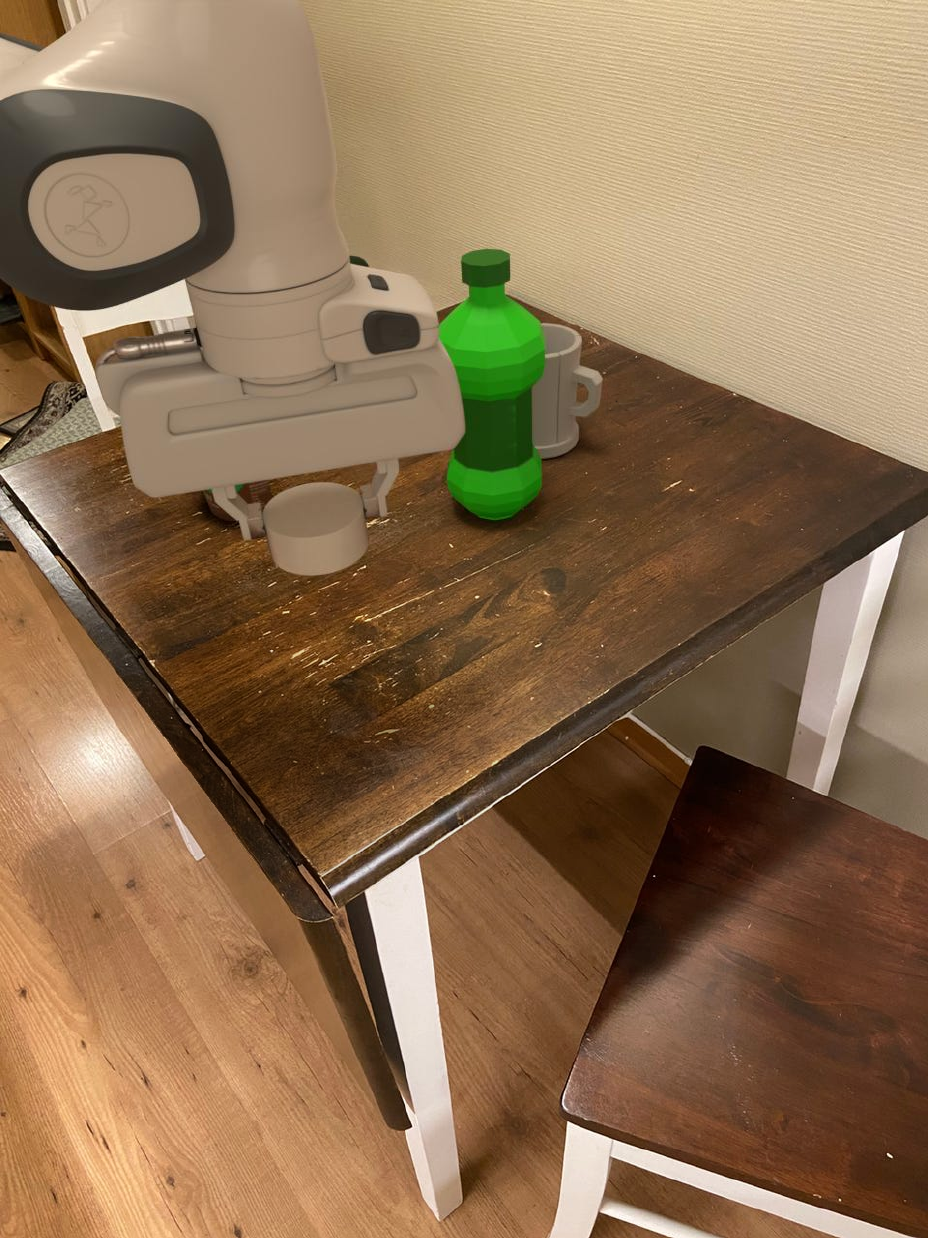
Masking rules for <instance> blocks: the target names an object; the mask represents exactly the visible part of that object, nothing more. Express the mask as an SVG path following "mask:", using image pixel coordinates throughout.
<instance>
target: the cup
mask: <svg viewBox="0 0 928 1238" xmlns="http://www.w3.org/2000/svg"><path fill="white" fill-rule="evenodd" d="M540 323H541V322H540ZM541 325H542V328H543V331H544V333H545V366H544V371H543V375H542V377H541V378H540V379H539V380H538V381H537V382H536V383H535V384H534V385H533V386H532V443H533V445H534V446H535V448H536V449H537V451H538V453H539V455H540V457H541V460H545V459H546V460H547V459H551V458H557V457H559V456H563V455H565V454H566V453H568V452H569V451H571V450H572V449H574V448H575V447H576V445H577V444H578V442H579V440H580V429H579V424H578V422H577V421H576V417H580V418H581V417H582V418H587V417H589V416H590V415H591V414H592V413H593V412H595V411H596V410H598V409H599V407H600V405H601V396H602V390H603V389H602V388H603V380H604V379H603V376H602V375H601V374H600V372H599V371H598V370H596V369H592V368H589V367H586V366H584V365H581V364H580V361H581V355H582V354H581V352H582V345H583V344H582V343H583V340H582V336H581V334H580V333H579V332H578V331H577V330H576V329H573V328H571V327H569V326H566V325H562V324H558V323H549V322H548V323H546V322H542V323H541ZM578 383H579V384H582V385H584V387H585V388H586V391H588V396H587V399H586V400H585V401H584V402H581V401H577V396H578V395H577V393H578Z"/></svg>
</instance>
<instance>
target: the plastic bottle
mask: <svg viewBox="0 0 928 1238" xmlns="http://www.w3.org/2000/svg"><path fill="white" fill-rule="evenodd" d="M460 266H461V269H460V270H461V283H463V284H465V285H467V286H468V297H467V298H465V299H464V300H463V301H462V302H461V303H459V305H458V306H456V307H455V308H454V309H453V310H452V311H451V312H450V313H449V314H448V315H447V316H446V317H445V318H444V319H442V321H441V322H440V323H439V339H440V340H441V342H442V344H443V345H444V347H445V349H446V351H447V353H448V355H449V357H450V359H451V361H452V363H453V365H454V368H455V371H456V374H457V378H458V382H459V386H460V391H461V396H462V402H463V409H464V417H465V434H464V436H463V437H462V439H461V440H460V442H459V443H458V445H457V446H456V447H455V448H454V449H452V452H451V455H450V457H449V459H448V460H449V461H448V466H447V473H446V483H447V485H446V487H447V490H448V491H449V493H450V495H451V496H452V498H453V499H455V500H456V501H457V502H458V503H459V504H461V505H462V506H463V507H464V508H466V509H467V510H468V511H469V512H470V513H471V514H474V515H476V516H477V517H479V519H487V520H491V521H499V520H504V519H509V518H512V517H513V516H514V515H516V514H517V513H518V512H520V511H521V510H522V509H523V508H525V507H526V506H528V505H529V504H530V503H532V501H534V500H535V499H536V498H537V497H538V495H539V493H540V491H541V489H542V486H543V475H542V474H543V471H542V470H543V469H542V467H543V463H542V461H543V459H541V457H540V455H539V453H538V451H537V449H536V448H535V446H534V445H533V443H532V386H533V385H534V384H535V383H536V382H537V381H538V380H539V379H540V378H541V377H542V375H543V371H544V366H545V333H544V331H543V328H542V325H541V321H540V320H539V319H538V318H537V317H536V316H534V315H533V314H532V313H531V312H529V310H527V309H526V308H525V307H524V306H522V305H521V304H519V303H518V302H517V301H515V300H514V299H512V298H511V297H509V296H508V295H506V285H505V284H506V283H508V282H510V281H511V253H510V252H507V251H505V250H503V249H496V248H483V249H475V250H471V251H468V252H466V253H464V254H462V255H461V259H460Z"/></svg>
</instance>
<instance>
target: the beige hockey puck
mask: <svg viewBox="0 0 928 1238" xmlns="http://www.w3.org/2000/svg"><path fill="white" fill-rule="evenodd" d="M262 514H263V516H262V517H263V522H264V528H265V531H266V535H267V537H266V541H267V545H268V549H269V553H270V557H271V560H272V562H273V563H274V564H275V565H276V566H277V567H279V569H281V570H282V571H285V572H286V573H289V574H293V575H298V576H305V577H307V576H313V577H314V576H322V575H329V574H333V573H336V572H339V571H342V570H344V569H347V568H348V567H351V566H352V565H354V564H355V563H356V562H357V561H359V560H360V559H361V558H362V557H363V556H364V555H365V553H366V552H367V550H368V548H369V544H370V538H369V530H368V525H367V524H368V523H367V519H366V518H365V510H364V505H363V500H362V498H361V494H360V492H359V493H358V491H357V490H355V489H354V488H352V487H350V486H348V485H345V484H341V483H336V482H331V481H330V482H329V481H319V482H308V483H304V484H298V485H295V486H292V487H290V488H286V489H284V490H283V491H281V492H279V493H278V494H276V495H275V496H272V499H271V500H270V501H269V502H268V503H267V505H266V506H265V508H264V510H263V513H262Z"/></svg>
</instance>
